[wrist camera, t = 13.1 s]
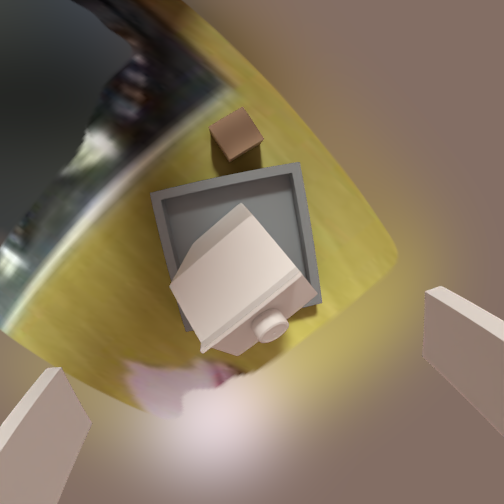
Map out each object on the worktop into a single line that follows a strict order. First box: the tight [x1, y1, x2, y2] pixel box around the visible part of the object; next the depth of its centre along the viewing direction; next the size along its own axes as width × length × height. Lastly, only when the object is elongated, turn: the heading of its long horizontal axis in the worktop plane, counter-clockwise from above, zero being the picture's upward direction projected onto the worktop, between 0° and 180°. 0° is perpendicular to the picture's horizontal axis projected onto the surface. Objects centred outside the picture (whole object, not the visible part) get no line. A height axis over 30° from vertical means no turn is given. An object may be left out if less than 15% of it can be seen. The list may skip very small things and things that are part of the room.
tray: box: [150, 162, 322, 332], centre depth 34 cm, size 16×16×2 cm
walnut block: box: [209, 107, 264, 163], centre depth 31 cm, size 4×4×4 cm
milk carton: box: [169, 203, 318, 356], centre depth 26 cm, size 7×7×19 cm
